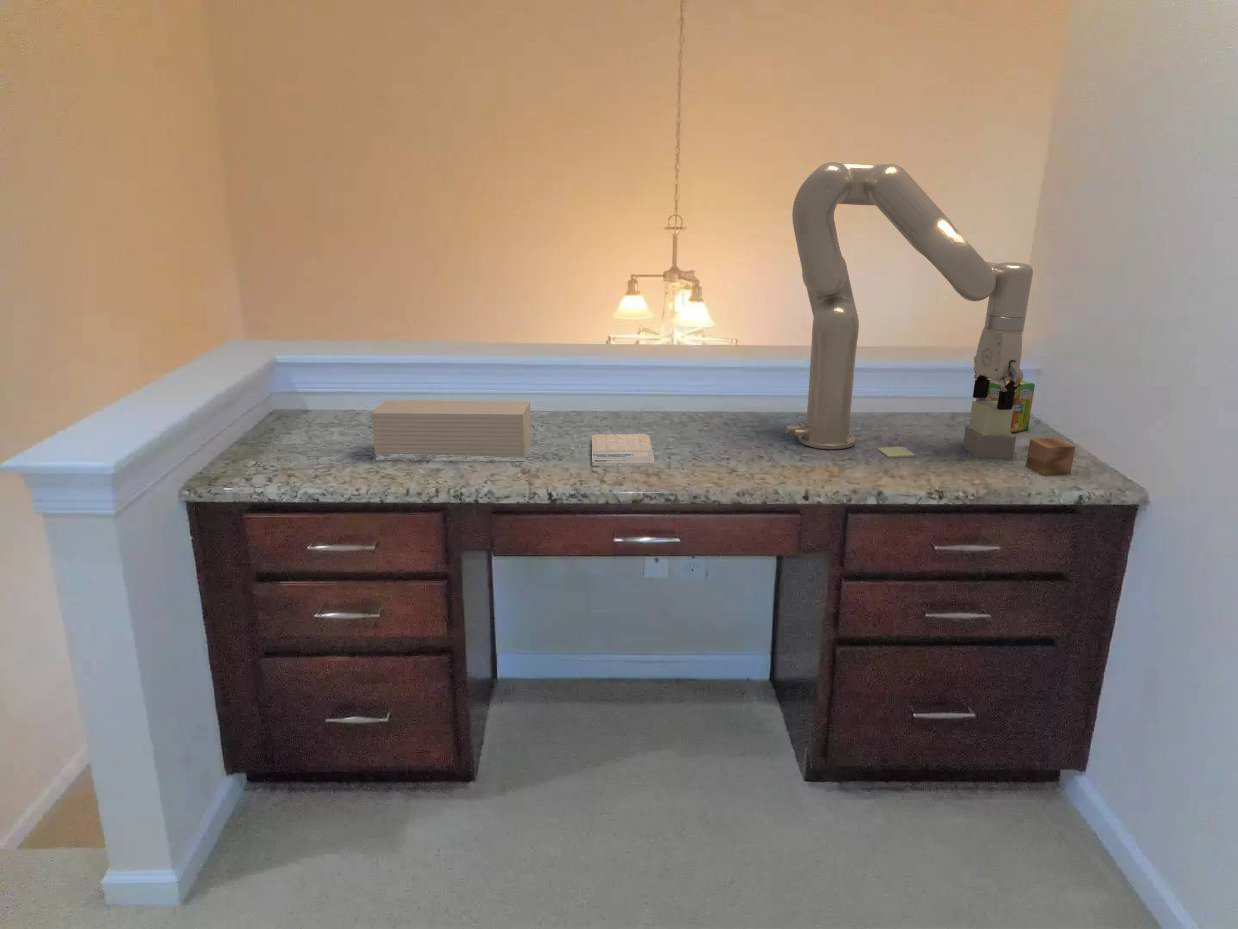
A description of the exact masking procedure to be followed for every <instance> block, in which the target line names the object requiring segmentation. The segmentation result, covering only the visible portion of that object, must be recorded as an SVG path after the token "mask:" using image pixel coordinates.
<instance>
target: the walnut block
mask: <svg viewBox="0 0 1238 929" xmlns="http://www.w3.org/2000/svg"><path fill="white" fill-rule="evenodd" d="M1027 451H1028V452H1027V456H1026V462H1025V463H1026V464H1025V467H1026V466H1027V467H1026V468H1028V467H1029V468H1028V469H1030V470H1031V469H1032V470H1031V471H1033V472H1035V473H1037V472H1038V473H1039V475H1040V474H1041V475H1040V476H1042V477H1046V476H1047V475H1051V476H1065V475H1064V474H1070V475H1071V472H1072V469H1073V468H1072V467H1073V462H1074V456H1075V451H1076V446H1075V445H1074V444H1070V443H1069V442H1066V441H1064V440H1063V439H1061V438H1058V437H1051V438H1049V437H1048V438H1030V439H1029V444H1028V450H1027ZM1038 473H1037V474H1038ZM1047 477H1048V476H1047Z"/></svg>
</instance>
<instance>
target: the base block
mask: <svg viewBox="0 0 1238 929" xmlns="http://www.w3.org/2000/svg"><path fill="white" fill-rule="evenodd" d="M964 429H965V430H964V435H963V443H962V447H963V448H964V449H965V450H966V451H967V452H968V454H970V455H971V454H972V455H971V456H972V457H973V458H975V459H976V458H979V459H980V458H981V459H1013V458H1014V453H1015V444H1016V441H1017V440H1016V439H1017V436H1016V435H1014V434H1013V433H1010V434H1009V435H993V436H982V435H980V434H979V433H977V432H975V431H973V430H972V429H970V428H969V425H965V428H964Z"/></svg>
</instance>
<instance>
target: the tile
mask: <svg viewBox="0 0 1238 929" xmlns="http://www.w3.org/2000/svg"><path fill="white" fill-rule="evenodd" d="M876 450H877V451H878V452H880V453H881V454H882V455H883V456H885V457H886V458H888V459H895V458H896V459H897V458H898V459H899V458H915V457H916V454H915V453H913V452H912V451H910V450H908V448H906V447H904V446H891V447H890V446H889V447H887V446H886V447H885V446H884V447H876Z"/></svg>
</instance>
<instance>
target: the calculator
mask: <svg viewBox="0 0 1238 929" xmlns="http://www.w3.org/2000/svg"><path fill="white" fill-rule="evenodd" d="M591 440H592V461H593V462H595V461H594V460H626V461H607V462H595V463H641V464H642V463H644V464H648V463H654V461H655V457H654V451H653V447H652V446H653V445H652V442H651V437H650V435H648V434H646V433H637V434H635V433H627V434H624V433H618V434H612V433H611V434H610V433H609V434H608V433H607V434H600V433H599V434H597V433H596V434H594V435H592V436H591ZM593 454H633V455H634V456H633V455H631V456H626V457H597V456H593Z"/></svg>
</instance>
